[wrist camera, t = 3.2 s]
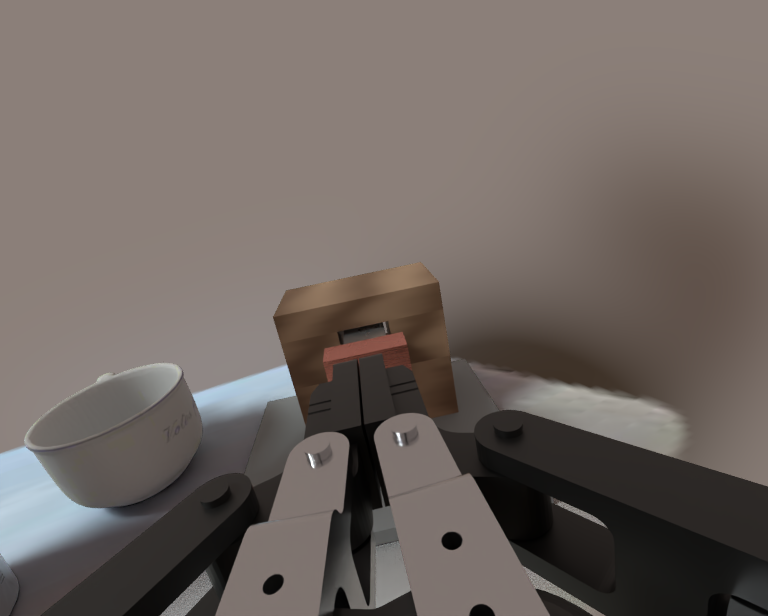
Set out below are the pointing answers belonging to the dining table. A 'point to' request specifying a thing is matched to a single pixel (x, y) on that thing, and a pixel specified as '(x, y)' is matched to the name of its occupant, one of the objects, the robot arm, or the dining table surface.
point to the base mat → (288, 427)
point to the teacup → (120, 436)
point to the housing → (366, 307)
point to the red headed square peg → (368, 348)
